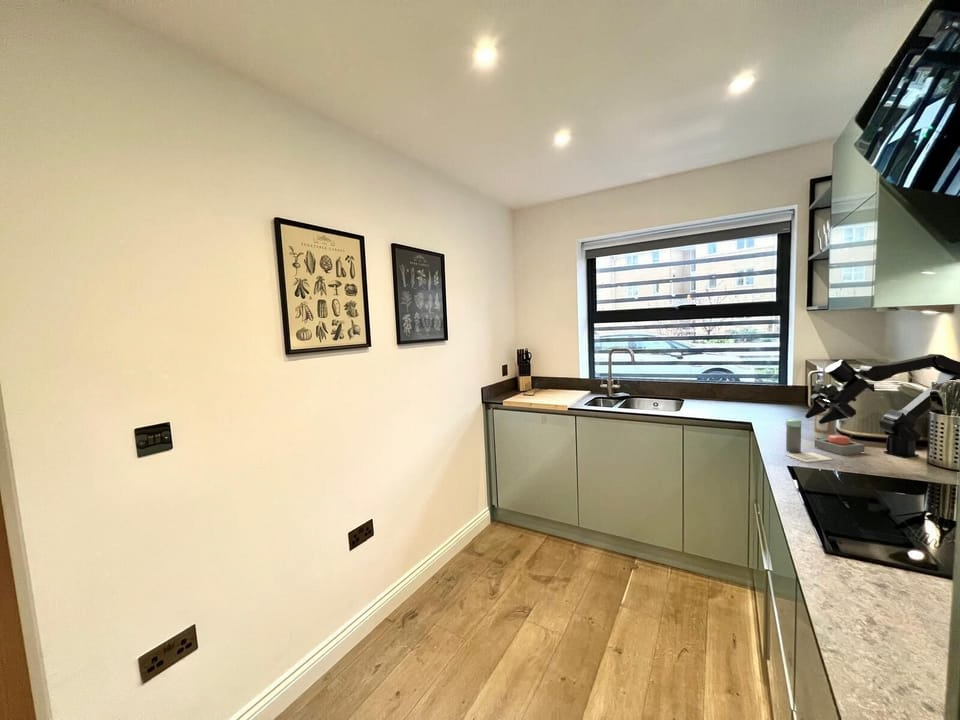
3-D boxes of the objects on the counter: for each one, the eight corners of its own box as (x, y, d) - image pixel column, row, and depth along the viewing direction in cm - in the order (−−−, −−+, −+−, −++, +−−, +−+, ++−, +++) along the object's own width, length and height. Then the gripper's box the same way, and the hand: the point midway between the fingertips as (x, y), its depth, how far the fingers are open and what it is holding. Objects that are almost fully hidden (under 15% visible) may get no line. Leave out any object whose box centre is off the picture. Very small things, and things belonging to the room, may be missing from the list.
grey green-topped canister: (804, 452, 150) (804, 421, 149) (793, 453, 149) (793, 422, 148) (793, 449, 154) (793, 418, 153) (782, 450, 153) (783, 419, 153)
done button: (854, 447, 148) (854, 438, 148) (840, 448, 147) (840, 439, 147) (837, 443, 154) (837, 434, 154) (824, 444, 153) (824, 435, 153)
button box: (864, 452, 146) (864, 444, 146) (841, 455, 145) (841, 447, 145) (836, 445, 156) (836, 437, 156) (814, 447, 155) (814, 439, 155)
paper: (833, 459, 141) (833, 458, 141) (805, 462, 139) (805, 461, 139) (811, 453, 149) (811, 452, 149) (785, 455, 147) (785, 454, 147)
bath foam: (810, 437, 167) (811, 391, 166) (818, 435, 171) (819, 389, 169) (831, 441, 161) (832, 393, 160) (839, 438, 164) (840, 391, 163)
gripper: (816, 373, 155) (783, 400, 159) (846, 379, 137) (808, 410, 141) (840, 393, 154) (806, 420, 158) (873, 401, 136) (834, 432, 140)
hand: (812, 420), depth 149 cm, fingers open, 9 cm apart
